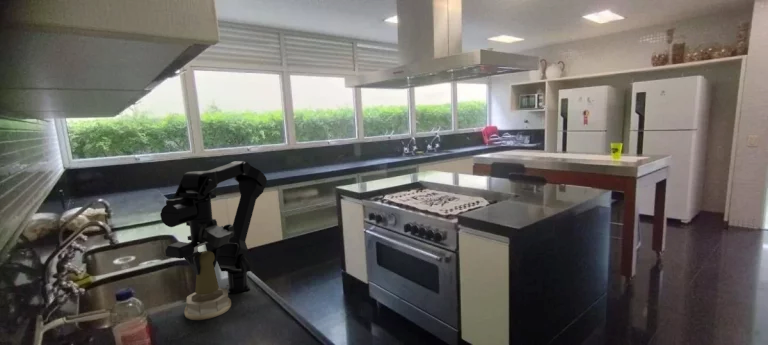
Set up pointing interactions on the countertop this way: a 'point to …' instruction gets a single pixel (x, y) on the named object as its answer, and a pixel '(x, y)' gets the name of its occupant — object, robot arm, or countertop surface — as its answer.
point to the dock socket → (207, 305)
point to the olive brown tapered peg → (206, 274)
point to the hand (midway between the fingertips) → (205, 271)
